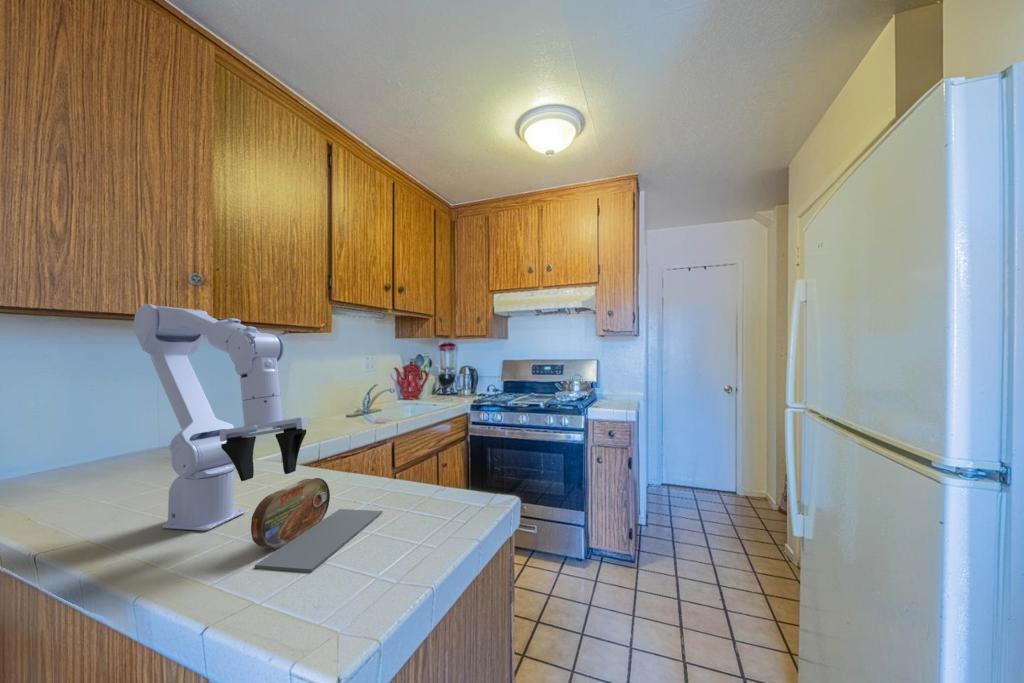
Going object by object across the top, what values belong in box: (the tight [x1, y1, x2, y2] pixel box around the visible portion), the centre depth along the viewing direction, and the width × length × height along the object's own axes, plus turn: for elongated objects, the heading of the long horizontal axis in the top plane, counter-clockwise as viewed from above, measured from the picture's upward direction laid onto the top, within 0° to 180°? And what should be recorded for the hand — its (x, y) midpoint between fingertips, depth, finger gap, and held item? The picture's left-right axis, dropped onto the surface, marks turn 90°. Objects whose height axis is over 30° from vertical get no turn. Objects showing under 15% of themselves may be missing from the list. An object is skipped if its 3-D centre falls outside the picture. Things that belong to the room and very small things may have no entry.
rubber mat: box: [254, 508, 383, 573], centre depth 62 cm, size 9×20×1 cm, turn 171°
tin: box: [250, 477, 331, 549], centre depth 63 cm, size 15×3×8 cm, turn 168°
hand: (268, 476), depth 64 cm, fingers open, 7 cm apart
